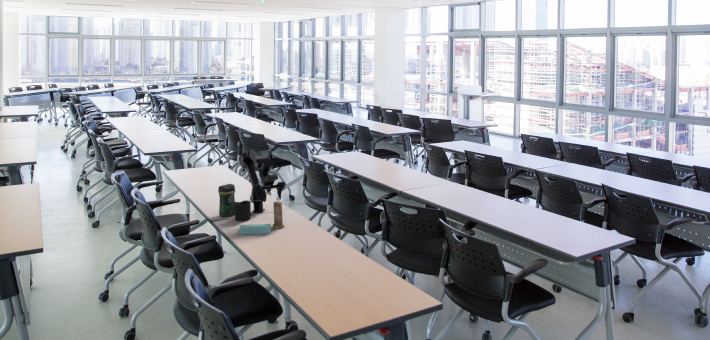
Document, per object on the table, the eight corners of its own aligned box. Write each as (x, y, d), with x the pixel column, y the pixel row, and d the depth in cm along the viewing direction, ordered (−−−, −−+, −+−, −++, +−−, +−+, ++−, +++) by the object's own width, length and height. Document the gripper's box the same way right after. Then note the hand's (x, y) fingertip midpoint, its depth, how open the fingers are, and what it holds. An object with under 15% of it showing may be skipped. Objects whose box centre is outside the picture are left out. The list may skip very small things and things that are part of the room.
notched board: (241, 227, 299) (241, 220, 298) (270, 226, 301) (270, 219, 300) (239, 234, 287) (239, 227, 286) (270, 233, 289) (270, 226, 288)
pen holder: (247, 222, 308) (246, 205, 306) (232, 221, 310) (231, 204, 308) (253, 217, 317) (253, 200, 315) (238, 216, 319) (237, 199, 317)
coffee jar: (226, 218, 315) (224, 187, 311) (217, 215, 320) (215, 185, 316) (238, 214, 323) (237, 184, 319) (230, 212, 327) (228, 182, 323)
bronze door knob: (274, 225, 303) (273, 200, 300) (285, 225, 302) (284, 201, 299) (271, 228, 297) (270, 203, 294) (283, 228, 296) (282, 204, 293)
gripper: (252, 171, 300) (259, 195, 293) (284, 167, 309) (292, 191, 302) (248, 181, 308) (255, 205, 302) (279, 177, 317) (287, 201, 310)
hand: (272, 200), depth 304 cm, fingers open, 9 cm apart
